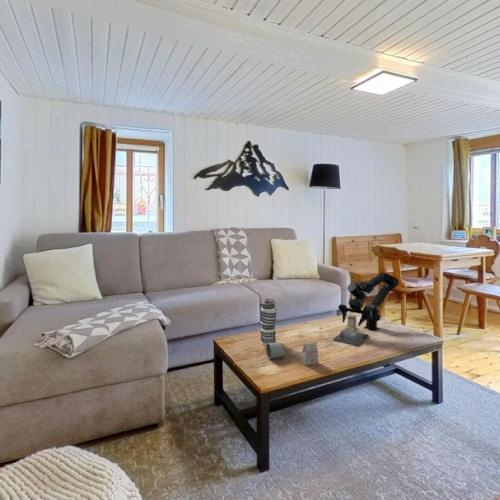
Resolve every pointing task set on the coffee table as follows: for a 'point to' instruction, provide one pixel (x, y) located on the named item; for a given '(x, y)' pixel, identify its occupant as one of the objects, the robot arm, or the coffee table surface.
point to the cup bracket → (351, 337)
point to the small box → (310, 354)
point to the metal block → (351, 323)
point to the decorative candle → (268, 321)
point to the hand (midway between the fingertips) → (350, 323)
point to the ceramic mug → (275, 350)
